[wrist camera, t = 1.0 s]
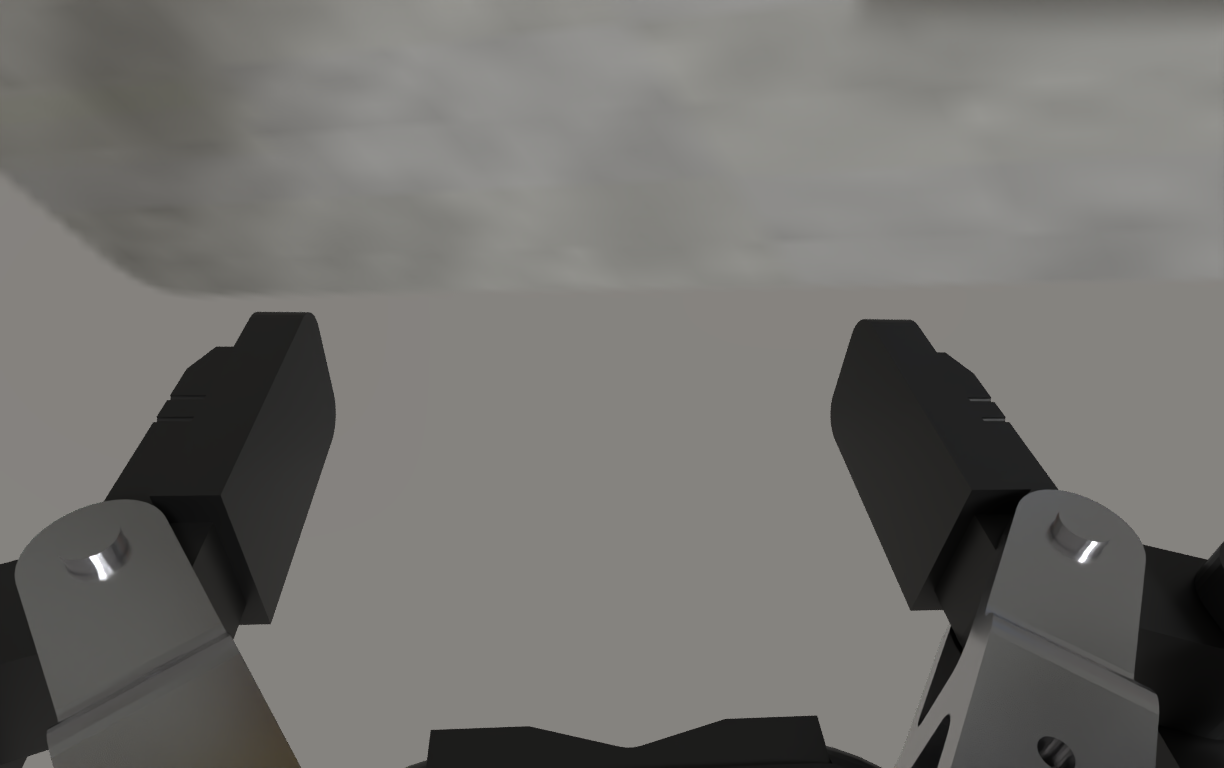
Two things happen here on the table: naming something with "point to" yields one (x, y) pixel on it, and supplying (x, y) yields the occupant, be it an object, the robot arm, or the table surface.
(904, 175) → the table surface
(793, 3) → the table surface
